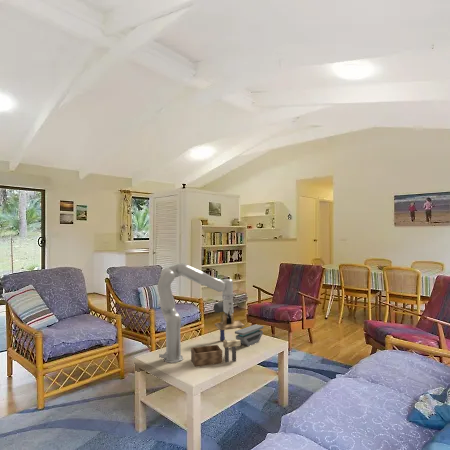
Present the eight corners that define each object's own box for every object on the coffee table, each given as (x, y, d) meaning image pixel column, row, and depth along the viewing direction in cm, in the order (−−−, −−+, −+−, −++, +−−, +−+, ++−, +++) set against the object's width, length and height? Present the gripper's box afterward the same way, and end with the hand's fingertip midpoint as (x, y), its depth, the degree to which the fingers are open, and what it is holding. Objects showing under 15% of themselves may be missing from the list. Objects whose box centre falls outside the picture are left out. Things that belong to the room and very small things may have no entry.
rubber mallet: (219, 343, 256) (218, 304, 257) (213, 341, 262) (212, 302, 263) (231, 340, 265) (231, 301, 265) (225, 338, 270) (224, 300, 271)
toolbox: (195, 366, 213) (194, 351, 213) (191, 360, 224) (191, 345, 225) (236, 361, 221) (236, 346, 221) (230, 355, 233) (230, 340, 233)
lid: (219, 331, 229) (219, 319, 229) (214, 326, 240) (214, 314, 240) (244, 328, 234) (244, 316, 234) (238, 323, 245) (238, 312, 246)
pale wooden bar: (224, 347, 219) (224, 341, 219) (223, 346, 222) (223, 340, 222) (240, 346, 222) (240, 339, 222) (239, 344, 225) (239, 338, 225)
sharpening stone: (255, 338, 269) (255, 324, 269) (263, 340, 264) (263, 326, 264) (234, 346, 251) (234, 331, 251) (243, 348, 245) (242, 333, 246)
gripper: (236, 298, 233) (237, 325, 233) (229, 294, 249) (229, 319, 248) (226, 299, 231) (226, 326, 230) (219, 295, 247) (219, 320, 246)
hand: (228, 322), depth 239 cm, fingers closed on lid, 3 cm apart
